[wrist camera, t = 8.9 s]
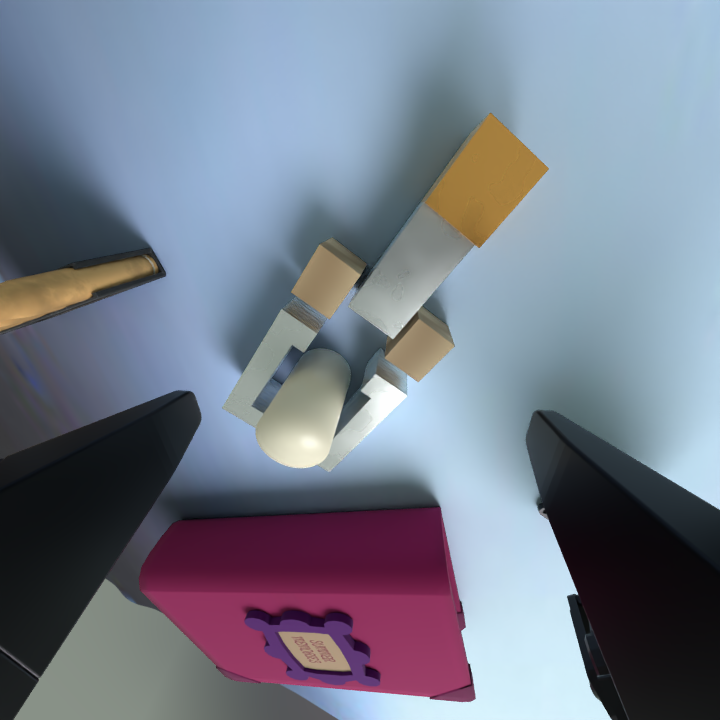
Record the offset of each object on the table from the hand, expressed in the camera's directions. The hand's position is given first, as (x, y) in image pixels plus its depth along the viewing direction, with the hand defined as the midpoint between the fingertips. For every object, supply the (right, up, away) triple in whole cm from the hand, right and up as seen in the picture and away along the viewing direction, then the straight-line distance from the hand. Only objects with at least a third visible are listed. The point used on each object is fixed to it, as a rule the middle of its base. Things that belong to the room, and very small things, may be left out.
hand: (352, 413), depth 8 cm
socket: (-3, 0, +14) cm, 14 cm away
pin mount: (+1, +5, +11) cm, 12 cm away
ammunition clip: (-18, +7, +13) cm, 23 cm away
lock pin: (+4, +8, +9) cm, 13 cm away
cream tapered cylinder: (-2, 0, +14) cm, 14 cm away
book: (-4, -22, +27) cm, 35 cm away
